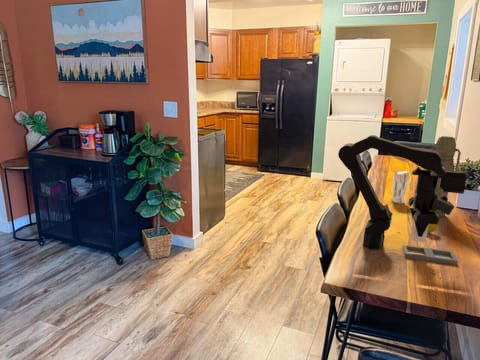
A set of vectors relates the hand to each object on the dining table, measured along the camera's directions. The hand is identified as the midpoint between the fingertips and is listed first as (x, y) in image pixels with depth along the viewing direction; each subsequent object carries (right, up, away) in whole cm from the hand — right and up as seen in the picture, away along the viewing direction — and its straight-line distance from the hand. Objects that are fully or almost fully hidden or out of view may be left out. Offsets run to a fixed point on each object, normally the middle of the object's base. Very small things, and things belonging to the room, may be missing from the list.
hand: (418, 233), depth 118 cm
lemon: (+15, -3, +21) cm, 26 cm away
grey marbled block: (+19, +7, +58) cm, 62 cm away
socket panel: (+4, -8, +1) cm, 9 cm away
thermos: (+28, +2, +42) cm, 51 cm away
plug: (0, -2, +1) cm, 2 cm away
